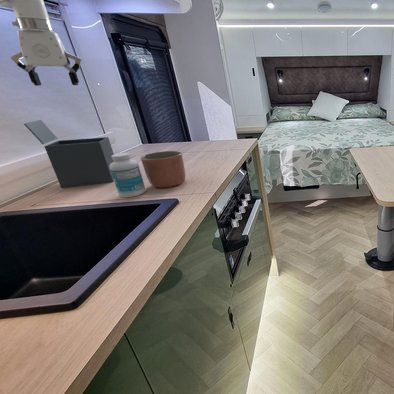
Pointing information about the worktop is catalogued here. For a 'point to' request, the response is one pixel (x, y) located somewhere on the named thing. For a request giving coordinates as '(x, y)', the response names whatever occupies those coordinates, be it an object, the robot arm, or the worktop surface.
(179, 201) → the worktop surface
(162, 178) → the planter
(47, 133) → the flap
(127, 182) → the pill bottle
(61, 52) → the robot arm
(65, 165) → the carton
